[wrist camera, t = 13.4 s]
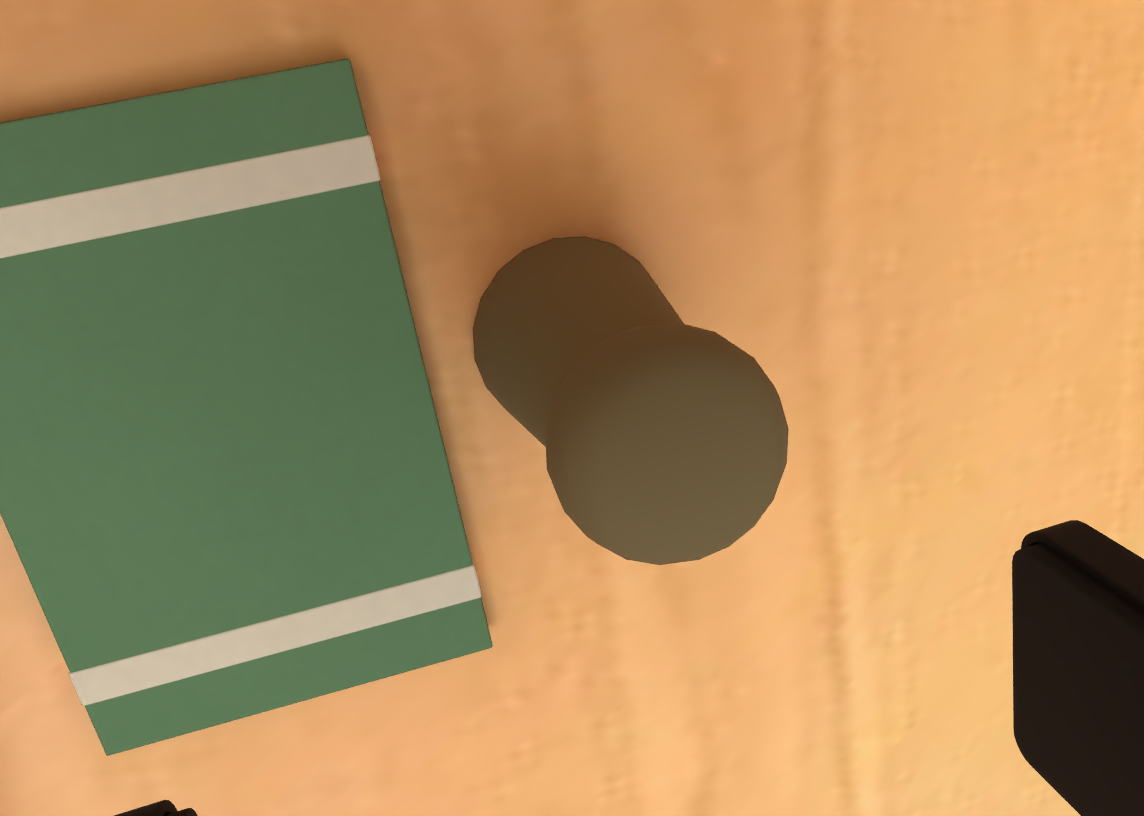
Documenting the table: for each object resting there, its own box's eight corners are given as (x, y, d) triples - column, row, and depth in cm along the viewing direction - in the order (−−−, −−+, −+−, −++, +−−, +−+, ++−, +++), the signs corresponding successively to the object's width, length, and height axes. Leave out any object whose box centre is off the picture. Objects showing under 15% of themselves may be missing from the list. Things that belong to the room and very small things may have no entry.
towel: (-139, 149, 24) (-162, 153, 23) (351, 58, 25) (351, 57, 24) (113, 732, 30) (104, 758, 29) (489, 627, 32) (494, 648, 31)
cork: (612, 197, 28) (763, 267, 18) (698, 365, 30) (875, 512, 20) (434, 303, 28) (486, 434, 18) (534, 464, 30) (630, 660, 20)
